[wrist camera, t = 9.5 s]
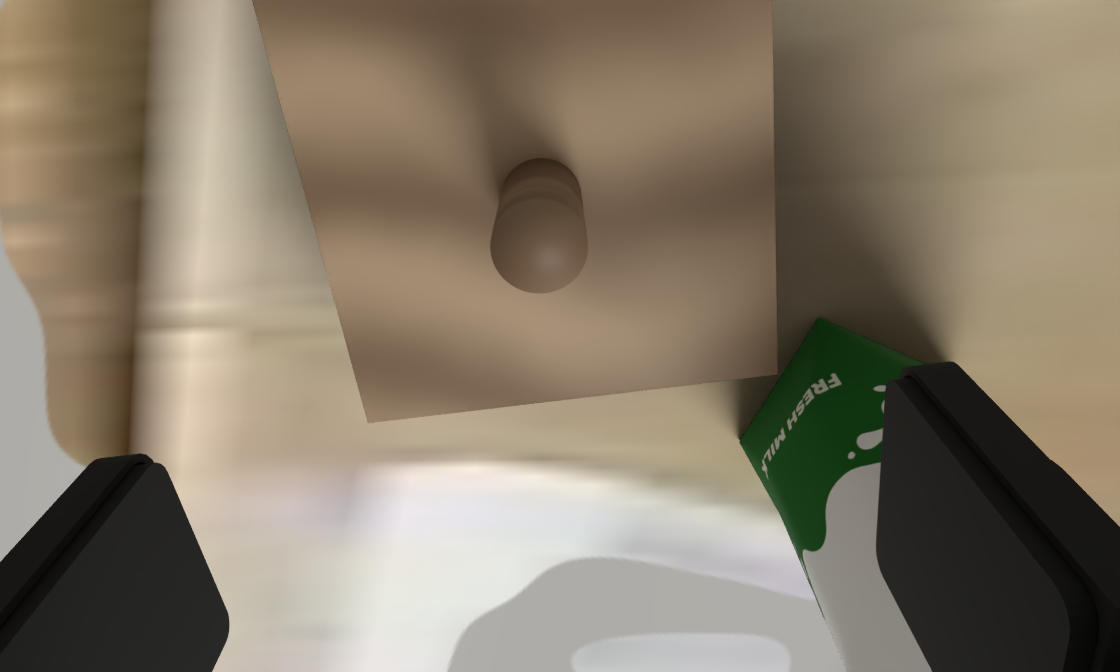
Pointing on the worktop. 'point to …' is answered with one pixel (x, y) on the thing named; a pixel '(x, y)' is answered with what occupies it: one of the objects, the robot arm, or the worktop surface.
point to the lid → (536, 192)
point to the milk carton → (836, 487)
